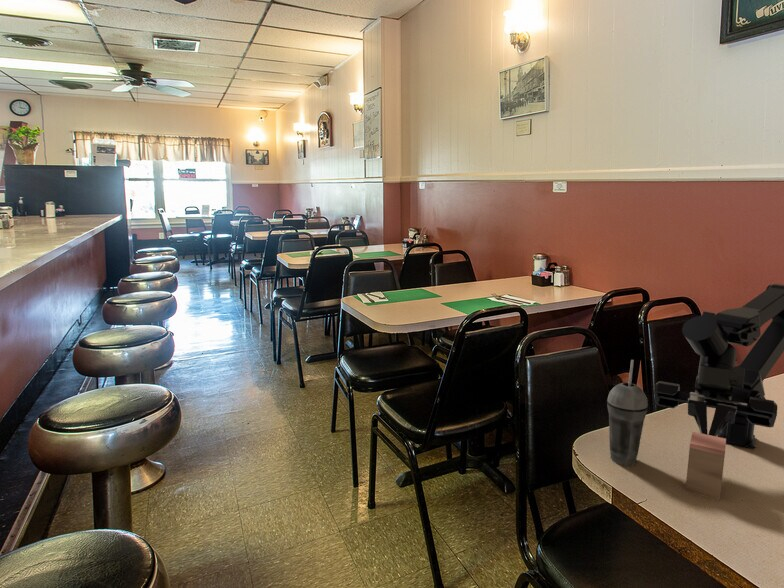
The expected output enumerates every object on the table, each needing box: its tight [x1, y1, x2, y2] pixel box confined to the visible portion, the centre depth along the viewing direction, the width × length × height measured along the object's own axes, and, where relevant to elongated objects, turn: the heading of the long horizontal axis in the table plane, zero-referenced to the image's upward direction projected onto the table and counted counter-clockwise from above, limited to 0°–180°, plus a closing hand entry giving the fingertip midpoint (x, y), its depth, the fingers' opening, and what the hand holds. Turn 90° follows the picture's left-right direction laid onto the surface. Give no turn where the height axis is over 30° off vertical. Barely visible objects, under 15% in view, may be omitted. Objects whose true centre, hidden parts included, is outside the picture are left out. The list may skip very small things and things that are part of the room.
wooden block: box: [685, 431, 727, 501], centre depth 86 cm, size 5×5×9 cm
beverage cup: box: [606, 359, 649, 467], centre depth 95 cm, size 7×7×20 cm
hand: (706, 446), depth 88 cm, fingers closed
